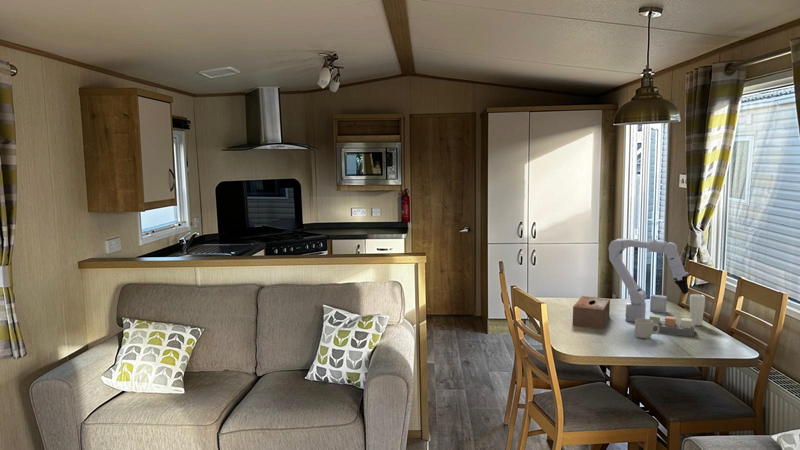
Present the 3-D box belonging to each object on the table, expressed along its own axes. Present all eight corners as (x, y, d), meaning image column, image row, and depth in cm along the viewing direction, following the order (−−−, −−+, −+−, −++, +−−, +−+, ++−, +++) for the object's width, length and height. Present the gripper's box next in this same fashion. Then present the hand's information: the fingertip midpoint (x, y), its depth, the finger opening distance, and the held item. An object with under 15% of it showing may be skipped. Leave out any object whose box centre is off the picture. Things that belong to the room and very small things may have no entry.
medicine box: (666, 311, 314) (667, 296, 313) (665, 313, 310) (666, 297, 309) (651, 309, 318) (651, 294, 317) (649, 311, 314) (650, 295, 313)
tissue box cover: (602, 329, 281) (603, 309, 280) (572, 325, 288) (573, 306, 286) (609, 317, 304) (609, 298, 303) (581, 313, 310) (581, 295, 309)
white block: (680, 328, 273) (681, 320, 273) (681, 325, 277) (681, 317, 277) (691, 329, 271) (691, 321, 271) (691, 327, 275) (691, 319, 275)
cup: (658, 336, 269) (659, 319, 269) (659, 341, 262) (660, 324, 261) (633, 333, 273) (634, 317, 272) (634, 338, 265) (635, 322, 265)
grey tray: (645, 330, 278) (645, 324, 278) (647, 324, 288) (648, 319, 287) (693, 336, 268) (694, 330, 268) (694, 330, 278) (694, 324, 277)
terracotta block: (664, 326, 277) (665, 318, 276) (665, 323, 281) (665, 316, 280) (675, 327, 275) (675, 319, 274) (675, 325, 279) (675, 317, 278)
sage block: (649, 324, 280) (649, 316, 280) (650, 322, 284) (650, 314, 284) (659, 325, 278) (659, 317, 278) (659, 323, 282) (660, 315, 282)
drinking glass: (705, 326, 284) (707, 297, 283) (690, 325, 286) (692, 296, 284) (701, 322, 291) (702, 294, 289) (686, 322, 292) (688, 293, 291)
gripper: (684, 265, 275) (694, 292, 273) (685, 262, 287) (695, 287, 286) (669, 269, 278) (678, 296, 276) (670, 266, 291) (680, 291, 289)
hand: (686, 292), depth 281 cm, fingers open, 7 cm apart
